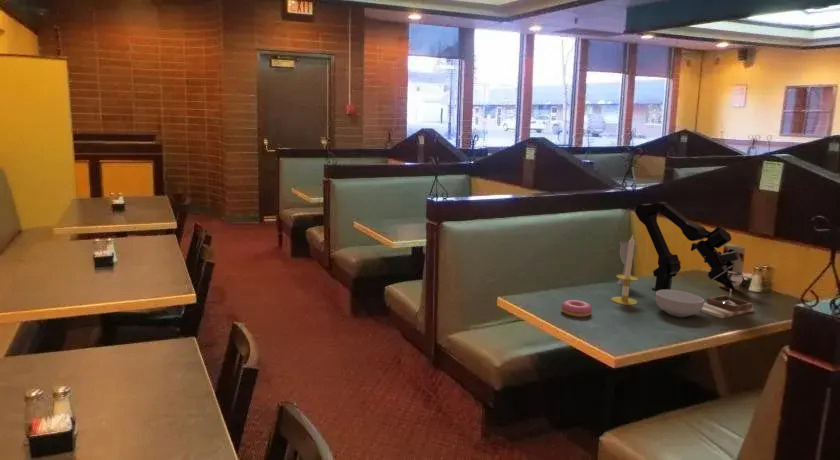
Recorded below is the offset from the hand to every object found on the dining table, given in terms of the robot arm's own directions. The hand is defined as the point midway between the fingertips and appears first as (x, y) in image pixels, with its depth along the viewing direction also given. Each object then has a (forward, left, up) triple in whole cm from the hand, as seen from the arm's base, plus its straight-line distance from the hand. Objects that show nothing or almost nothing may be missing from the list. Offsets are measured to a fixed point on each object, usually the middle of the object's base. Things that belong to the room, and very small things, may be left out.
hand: (735, 287), depth 245 cm
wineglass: (0, +1, -7) cm, 7 cm away
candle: (-34, +24, -9) cm, 43 cm away
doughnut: (-64, +21, -9) cm, 68 cm away
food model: (+27, +18, -9) cm, 34 cm away
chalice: (-13, +42, -9) cm, 45 cm away
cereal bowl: (-27, +5, -9) cm, 29 cm away
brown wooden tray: (-5, +1, -9) cm, 10 cm away
